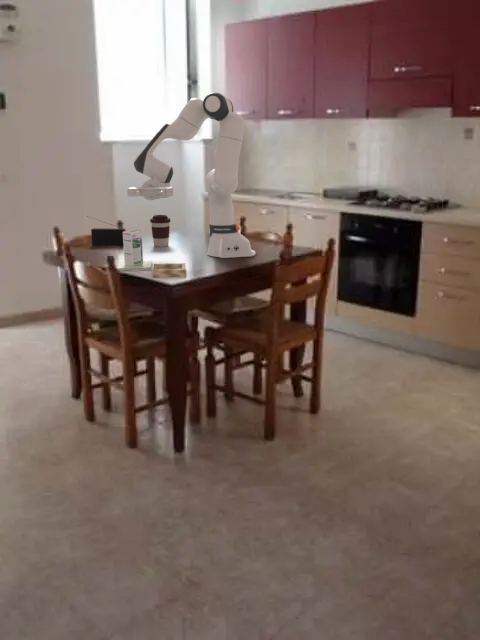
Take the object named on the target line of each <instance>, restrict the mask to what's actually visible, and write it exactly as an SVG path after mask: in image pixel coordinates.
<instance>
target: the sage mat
mask: <svg viewBox="0 0 480 640" xmlns="http://www.w3.org/2000/svg"><path fill="white" fill-rule="evenodd" d="M152 266H153V261H152V260H143V264H141V265H136V266H129V265H125V261H119V262H118V265H117V268H116V270H117V269H118V270H121V271H120V272H124V271H123V270H138V271H152Z"/></svg>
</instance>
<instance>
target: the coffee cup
mask: <svg viewBox="0 0 480 640" xmlns="http://www.w3.org/2000/svg"><path fill="white" fill-rule="evenodd" d="M149 221H150V223H151V235H152V236H151V237H152V238H153V239H152V240H153V246H154V247H158V248H164V247H168V246H169V243H170V242H169V241H170V239H169V238H170V223H171V218H170V217H168V215H167V214H155V215H152V218H150V219H149Z"/></svg>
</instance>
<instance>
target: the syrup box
mask: <svg viewBox="0 0 480 640" xmlns="http://www.w3.org/2000/svg"><path fill="white" fill-rule="evenodd" d="M142 239H143V237H142V231H141V230H139V229H131V230H125V231H124V232H123V245H124V246H123V256H124V262H125V265H129V266H136V265H141V264H143V261H144V255H143V254H144V253H143V241H142Z"/></svg>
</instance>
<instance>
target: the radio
mask: <svg viewBox="0 0 480 640" xmlns="http://www.w3.org/2000/svg"><path fill="white" fill-rule="evenodd" d="M86 217H88V218H91V219H93V220H96V221H100V222H102V223H105V224H108V225H110V226H113V227H116V228H113V227H112V228H101V227H100V228H98V227H95V228H91V229H90V231H91V233H90V234H91V246H92V247H124V245H123V232H124V231H126V228H122V227H121V226H117V225H115V224H112V223H108V222H105V221H102V220H100V219H96V218H94V217H92V216H88V215H86Z"/></svg>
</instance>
